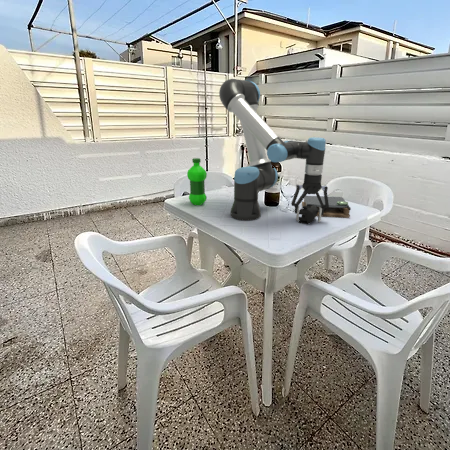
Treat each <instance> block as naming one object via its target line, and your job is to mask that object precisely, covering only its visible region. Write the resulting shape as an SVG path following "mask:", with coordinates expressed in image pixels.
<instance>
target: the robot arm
mask: <svg viewBox="0 0 450 450" xmlns="http://www.w3.org/2000/svg"><path fill="white" fill-rule="evenodd" d="M218 93H219V99H220V102H221V104H222V105H223V107H224V108H225V109H226V110H227V112H228V113H233V115H235V117H236V118H237V119H238V120H239V121H240V124H241V128H242V132H243V136H244V141H245V142H244V143H245V145H246V146H245V147H246V150H247V154H248V158H249V164H248V166H243V167H239V168H237V169H236V170H235V171H234V177H233V182H234V183H233V184H234V185H233V187H234V188H233V197H234V198H233V201H232V206H231V209H230V217H231V218H232V219H234V220H239V221H255V220H258V219H260V218H261V217H262V216H261V215H262V212H261V208H260V204H259V193H260V192H263V191H265V190H269V189H271V188H273V186H275V185H276V183H277V181H278V177H279V176H278V175H279V174H278V171H277V169H276V168H275V167H274V168H272V166H273V165H272V163H282V162H285V161H289V160H293V159H301V160H305V168H304V179H303V183H302V184H296V186H295V188H296V189H295V192H294V195H293V198H292V201H291V202H290V204H291V206H292V207H294V214H295V215H296V217H295V220H296V222H299V220H298V219H299V217H300V216H299V215H300V214H299V211H300V204H302V202H303V201H304V197H305V196H308V195H315V196H317V198H318V200H319V202H320V205H321V207H319V215H318V216H317V221H318V223H321V220H322V217H321V215H323V214H324V209H325V208H328V207H329V203H328V197H329V196H328V189H329V188H328V186H327V185H322V178H323V176H322V174H323V170H324V161H325V152H326V139H325V137H315V136H313V137H309V138H308V139H307V141H298V140H297V141H296V140H283V139H281V137H280V136H278V135H279V134H277V133H276V132H275V131H274V130H273V129H272V127H270V126H269V124H268V123H267V122H266V121H265V120H264V119H263V118H262V117H261V116H260V115H259V114H258V112H257V110H258V108H259V101H260V98H261V90H260V88H259V85H257V84H256V83H255V82H253V81H251V80H250V79H249V80H248V79H244V80H243V79H237V78H229V79H227V80H224V82H223V83H222V84H221V86H220V88H219V92H218ZM301 189H303V192H302V194H301V195H300V196H299V194H300V191H301ZM320 190H322V191H323V192H322V193H323V196H324V199H325V205H324V204H323V202H322V200H321V198H320V196H321V195H320V193H319V192H320ZM298 196H299V198H298ZM297 198H298V199H297Z"/></svg>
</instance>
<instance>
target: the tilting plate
mask: <svg viewBox="0 0 450 450" xmlns="http://www.w3.org/2000/svg"><path fill="white" fill-rule="evenodd" d="M320 198H321V200H322V202H323V204H324V205H325V199H324V195H323V196H322V195H320ZM304 199H305V202H306V205H307V206H312V205H314V206H316V207H321V205H320V202H319V200H318V198H317V196H316V195H306V196H305V197H304ZM304 199H303V200H304ZM328 203H329V207H338V208H348V207H350V205H349V201H346V200H345V198H343V197H342V196H328Z"/></svg>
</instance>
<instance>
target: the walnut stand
mask: <svg viewBox="0 0 450 450" xmlns="http://www.w3.org/2000/svg"><path fill="white" fill-rule="evenodd" d="M301 206H302V207H303V206H307V205H306V202H305V199H303V201H302V202H301ZM302 207H301V208H302ZM310 207H311V206H310ZM317 209H318V214H317V216H316V217H318V215H319V207H317ZM351 210H352V208H351V206H349V207H348V208H338V207H328V208H325V209H324V214H323V215H321V218H338V219H339V218H341V219H342V218H343V219H350V217H351V215H350V211H351Z"/></svg>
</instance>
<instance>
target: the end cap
mask: <svg viewBox="0 0 450 450" xmlns="http://www.w3.org/2000/svg"><path fill="white" fill-rule="evenodd" d="M317 214H318V209H317V207H316V206H314V205H312V206H311V207H310V206H303V207H301V208H299V215H300V216H299V218H298V221H297V222H298V223H299V224H303V225H309V224H312V223H313V222H314V221H315V219H316V218H317V217H318V216H317Z"/></svg>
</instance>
